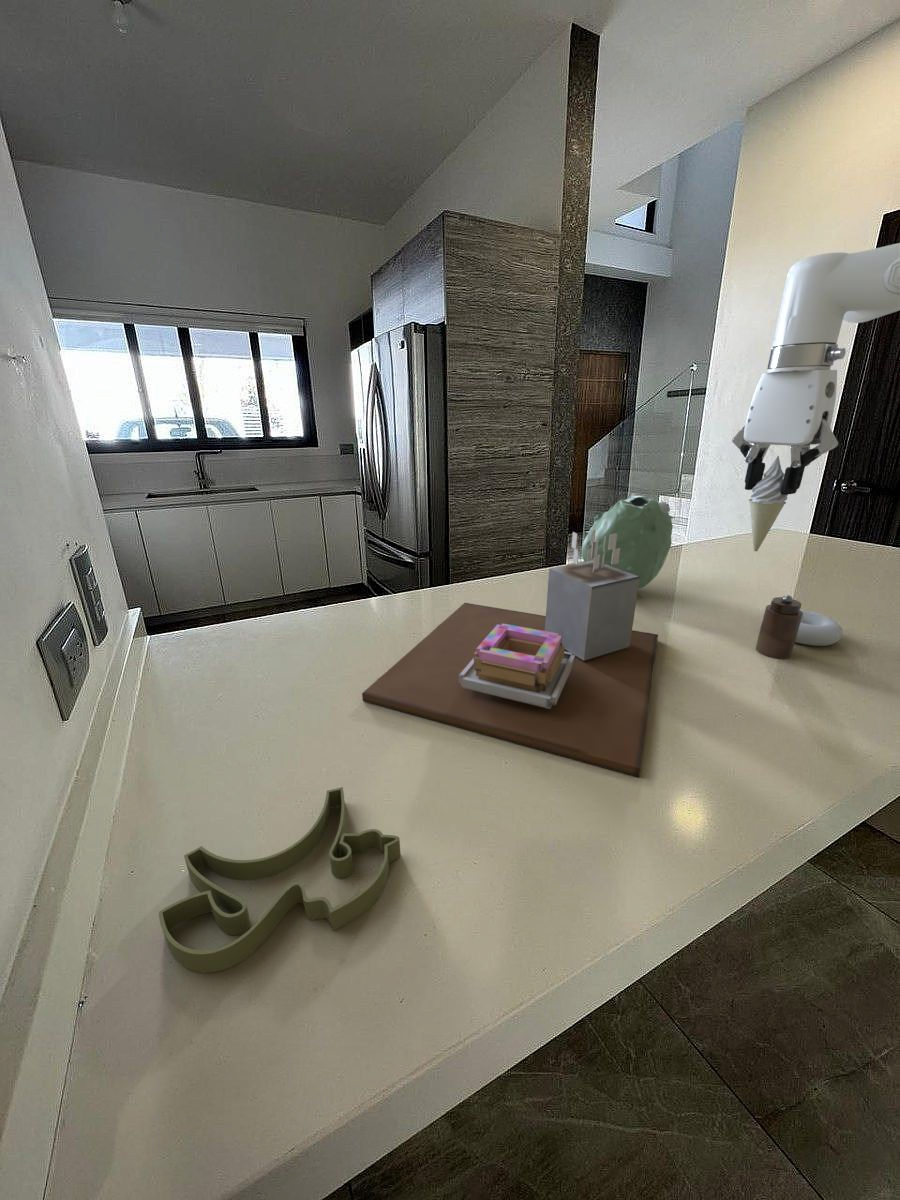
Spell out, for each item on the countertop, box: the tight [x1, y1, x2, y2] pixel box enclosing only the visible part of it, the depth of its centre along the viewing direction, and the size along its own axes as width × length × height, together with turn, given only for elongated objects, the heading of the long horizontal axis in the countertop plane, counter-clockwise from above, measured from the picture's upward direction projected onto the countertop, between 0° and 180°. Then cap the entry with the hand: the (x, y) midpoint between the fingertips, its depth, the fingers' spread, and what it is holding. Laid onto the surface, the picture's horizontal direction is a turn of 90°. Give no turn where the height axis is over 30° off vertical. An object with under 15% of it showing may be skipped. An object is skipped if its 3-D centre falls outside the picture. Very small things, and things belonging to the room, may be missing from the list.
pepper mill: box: [755, 594, 803, 660], centre depth 74 cm, size 5×5×10 cm
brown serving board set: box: [361, 529, 659, 778], centre depth 69 cm, size 35×35×19 cm
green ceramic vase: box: [581, 492, 675, 590], centre depth 99 cm, size 16×19×20 cm
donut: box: [795, 609, 844, 647], centre depth 81 cm, size 10×4×10 cm
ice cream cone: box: [748, 455, 788, 552], centre depth 75 cm, size 5×5×15 cm
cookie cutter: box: [158, 786, 401, 974], centre depth 40 cm, size 18×12×2 cm, turn 123°
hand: (769, 490), depth 74 cm, fingers closed on ice cream cone, 4 cm apart
